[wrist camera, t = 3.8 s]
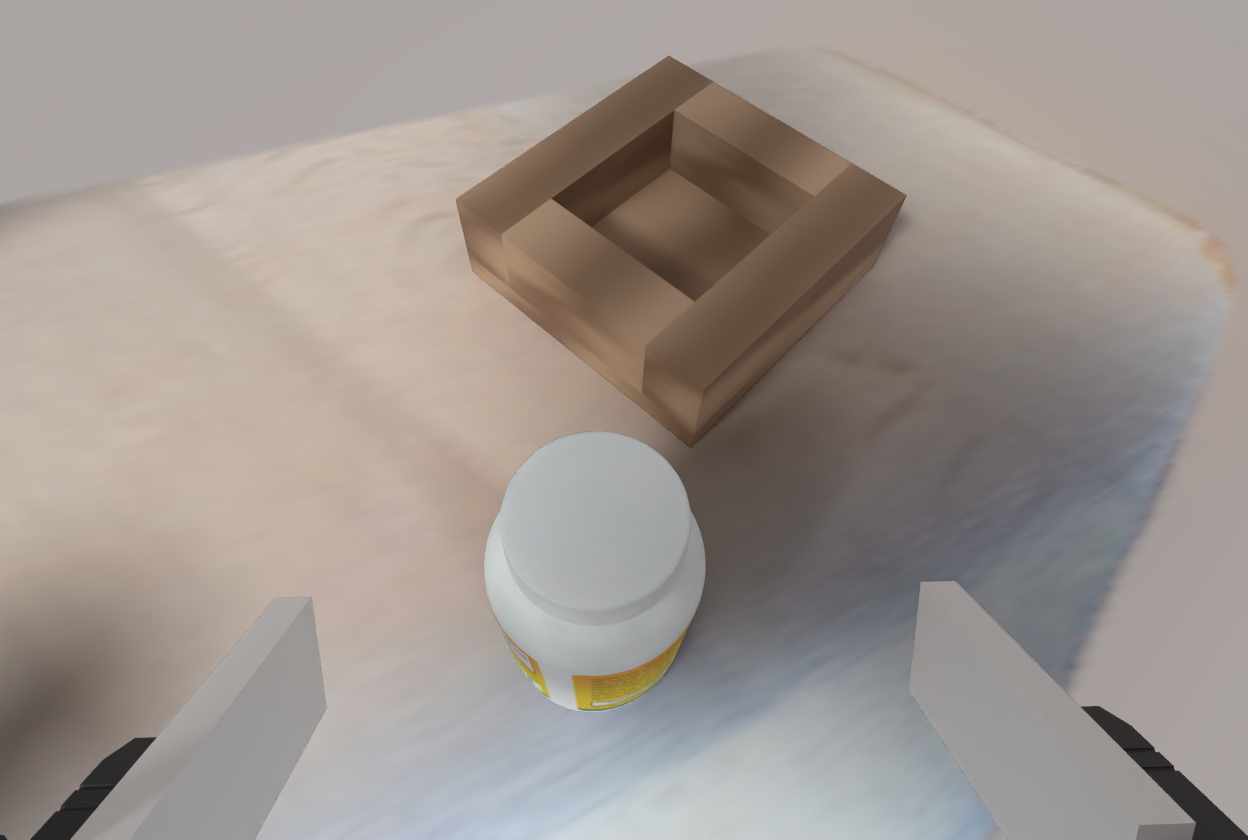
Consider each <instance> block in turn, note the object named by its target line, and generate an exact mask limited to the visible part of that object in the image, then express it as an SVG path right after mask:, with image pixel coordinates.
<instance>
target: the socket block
mask: <svg viewBox="0 0 1248 840" xmlns="http://www.w3.org/2000/svg"><path fill="white" fill-rule="evenodd" d="M906 196H907V195H905V194H903V193H902V192H900V191H898V190H897V189H895V188H893V187H891V186H890V185H888V184H886V183H885V182H883V181H881V180H880V179H878V178H876V177H874V176H873V175H871V174H869V173H868V172H866V171H864V170H863V169H861V168H859V167H857V166H856V165H854V164H852V163H851V162H849V161H847V160H846V159H844V158H842V157H840V156H839V155H837V154H835V153H834V152H832V151H830V150H829V149H827V148H825V147H823V146H822V145H820V144H818V143H817V142H815V141H813V140H812V139H810V138H808V137H806V136H805V135H803V134H801V133H800V132H798V131H796V130H794V129H793V128H791V127H789V126H788V125H786V124H784V123H783V122H781V121H779V120H777V119H776V118H774V117H772V116H771V115H769V114H767V113H766V112H764V111H762V110H760V109H759V108H757V107H755V106H754V105H752V104H750V103H749V102H747V101H745V100H743V99H742V98H740V97H738V96H737V95H735V94H733V93H732V92H730V91H728V90H726V89H725V88H723V87H721V86H720V85H718V84H716V83H715V82H713V81H711V80H709V79H708V78H706V77H704V76H703V75H701V74H699V73H698V72H696V71H694V70H692V69H691V68H689V67H687V66H686V65H684V64H682V63H680V62H679V61H677V60H675V59H674V58H672V57H670V56H668V57H666V58H665V59H663V60H662V61H660V62H659V63H657V64H656V65H654V66H653V67H651V68H650V69H648V70H647V71H645V72H644V73H642V74H641V75H639V76H638V77H636V78H635V79H633V80H632V81H630V82H629V83H627V84H626V85H624V86H623V87H622V88H620V89H619V90H617V91H616V92H614V93H613V94H611V95H610V96H608V97H607V98H605V99H604V100H602V101H601V102H599V103H598V104H596V105H595V106H593V107H592V108H590V109H589V110H587V111H586V112H584V113H583V114H581V115H580V116H578V117H577V118H575V119H574V120H572V121H571V122H570V123H568V124H567V125H565V126H564V127H562V128H561V129H559V130H558V131H556V132H555V133H553V134H552V135H550V136H549V137H547V138H546V139H544V140H543V141H541V142H540V143H538V144H537V145H535V146H534V147H532V148H531V149H529V150H528V151H526V152H525V153H523V154H522V155H520V156H519V157H518V158H516V159H515V160H513V161H512V162H510V163H509V164H507V165H506V166H504V167H503V168H501V169H500V170H498V171H497V172H495V173H494V174H492V175H491V176H489V177H488V178H486V179H485V180H483V181H482V182H480V183H479V184H477V185H476V186H474V187H473V188H471V189H470V190H468V191H467V192H466V193H464V194H463V195H461V196H460V197H458V198H457V199H456V204H457V208H458V212H459V216H460V220H461V225H462V229H463V233H464V237H465V242H466V246H467V250H468V254H469V259H470V263H471V267H472V271H473V272H474V273H475V274H476V275H478V276H479V277H480V278H481V279H482V280H484V281H485V282H486V283H487V284H489V285H490V286H491V287H492V288H494V289H495V290H496V291H497V292H499V293H500V294H501V295H502V296H504V297H505V298H506V299H507V300H509V301H510V302H511V303H512V304H513V305H515V306H516V307H517V308H518V309H520V310H521V311H522V312H523V313H525V314H526V315H527V316H528V317H530V318H531V319H532V320H533V321H535V322H536V323H537V324H538V325H540V326H541V327H542V328H543V329H544V330H546V331H547V332H548V333H549V334H551V335H552V336H553V337H554V338H556V339H557V340H558V341H559V342H561V343H562V344H563V345H564V346H566V347H567V348H568V349H569V350H571V351H572V352H573V353H574V354H575V355H577V356H578V357H579V358H580V359H582V360H583V361H584V362H585V363H587V364H588V365H589V366H590V367H592V368H593V369H594V370H595V371H597V372H598V373H599V374H600V375H601V376H603V377H604V378H605V379H606V380H608V381H609V382H610V383H611V384H613V385H614V386H615V387H616V388H618V389H619V390H620V391H621V392H623V393H624V394H625V395H626V396H628V397H629V398H630V399H631V400H632V401H634V402H635V403H636V404H637V405H639V406H640V407H641V408H642V409H644V410H645V411H646V412H647V413H649V414H650V415H651V416H652V417H654V418H655V419H656V420H657V421H659V422H660V423H661V424H662V425H663V426H665V427H666V428H667V429H668V430H670V431H671V432H672V433H673V434H675V435H676V436H677V437H678V438H680V439H681V440H682V441H683V442H685V443H686V444H687V445H688V446H689V447H692V446H693V445H694V444H695V443H696V442H697V441H698V440H699V439H700V438H701V437H702V436H703V435H704V434H705V433H706V432H707V431H708V430H709V429H710V428H711V427H712V426H713V425H714V424H715V423H716V422H717V421H718V420H719V419H720V418H721V417H722V416H723V415H724V414H725V413H726V412H727V411H728V410H729V409H730V408H731V407H732V406H733V405H734V404H735V403H736V402H737V401H738V400H739V399H740V398H741V397H742V396H743V395H744V394H745V393H746V392H747V391H748V390H749V389H750V388H751V387H752V386H753V385H754V384H755V383H756V382H757V381H758V380H760V379H761V378H762V377H763V376H764V375H765V374H766V373H767V372H768V371H769V370H770V369H771V368H772V367H773V366H774V365H775V364H776V363H777V362H778V361H779V360H780V359H781V358H782V357H783V356H784V355H785V354H786V353H787V352H788V351H789V350H790V349H791V348H792V347H793V346H794V345H795V344H796V343H797V342H798V341H799V340H800V339H801V338H802V337H803V336H804V335H805V334H806V333H807V332H808V331H809V330H810V329H811V328H812V327H813V326H814V325H815V324H816V323H817V322H818V321H819V320H820V319H821V318H822V317H823V316H824V315H825V314H826V313H827V312H828V311H829V310H830V309H831V308H832V307H833V306H834V305H835V304H836V303H837V302H838V301H839V300H840V299H841V298H842V297H843V296H844V295H845V294H846V293H847V292H848V291H849V290H850V289H851V288H852V287H853V286H854V285H855V284H856V283H857V282H858V281H859V280H860V279H861V278H862V277H863V276H864V275H865V274H866V273H867V272H868V271H869V270H870V269H871V268H872V267H873V265H874V263H875V261H876V259H877V257H878V255H879V253H880V251H881V249H882V246H883V244H884V242H885V240H886V238H887V236H888V234H889V232H890V230H891V228H892V225H893V223H894V221H895V219H896V217H897V215H898V213H899V211H900V209H901V206H902V204H903V202H904V200H905V198H906Z"/></svg>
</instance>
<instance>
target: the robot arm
mask: <svg viewBox="0 0 1248 840" xmlns="http://www.w3.org/2000/svg"><path fill="white" fill-rule="evenodd" d="M909 692H910V694H911V695H912V697H913V698H914V700H915V701H916V703H917V704H918V706H919V707H920V709H921V710H922V712H923V713H924V715H925V716H926V718H927V719H928V721H929V722H930V724H931V725H932V727H933V728H934V730H935V731H936V733H937V734H938V736H939V737H940V739H941V740H942V742H943V744H944V745H945V747H946V748H947V750H948V751H949V753H950V754H951V756H952V757H953V759H954V760H955V762H956V763H957V765H958V766H959V768H960V769H961V771H962V772H963V774H964V775H965V777H966V778H967V780H968V781H969V783H970V784H971V786H972V787H973V789H974V790H975V792H976V793H977V795H978V796H979V798H980V799H981V801H982V802H983V804H984V805H985V807H986V808H987V810H988V811H989V813H990V814H991V816H992V817H993V819H994V820H995V822H996V823H997V825H998V826H999V828H1000V829H1001V831H1002V832H1003V834H1004V835H1005V837H1006V838H1007V840H1248V836H1247V835H1246V834H1245V833H1244V832H1243V831H1242V830H1241V829H1240V828H1239V827H1238V826H1236V825H1235V824H1234V823H1233V822H1232V821H1231V820H1230V819H1229V818H1228V817H1227V816H1226V815H1225V814H1224V813H1223V812H1222V811H1221V810H1220V809H1218V807H1216V806H1215V805H1214V804H1213V803H1212V802H1211V801H1210V800H1209V799H1208V798H1207V797H1206V796H1205V795H1204V794H1203V793H1202V792H1201V791H1200V790H1198V789H1197V788H1196V787H1195V786H1194V785H1193V784H1192V783H1191V782H1190V781H1189V780H1188V779H1187V778H1186V777H1185V776H1184V775H1183V774H1182V773H1180V772H1179V771H1175V770H1174V766H1173V765H1172V764H1171V763H1170V762H1169V761H1168V760H1167V759H1166V758H1164V756H1163V755H1161V754H1160V753H1159V752H1155V750H1154V747H1153V746H1152V745H1151V744H1150V743H1149V742H1148V741H1147V740H1146V739H1144V738H1143V737H1142V736H1141V735H1140V734H1139V733H1138V732H1137V731H1136V730H1135V729H1134V728H1133V727H1132V726H1131V725H1129V724H1128V723H1126V722H1124V721H1123V720H1121V719H1119V718H1117V717H1116V716H1114V715H1113V714H1111V713H1109V712H1108V711H1106V710H1104V709H1102V708H1101V707H1099V706H1092V707H1090V706H1089V707H1080V706H1079V705H1078V704H1077V703H1076V702H1075V701H1074V700H1073V699H1072V698H1071V697H1070V696H1069V695H1068V694H1067V693H1066V692H1065V691H1064V690H1063V689H1062V688H1061V687H1060V686H1059V685H1058V684H1057V683H1056V682H1055V681H1054V680H1053V679H1052V678H1051V677H1050V676H1049V675H1048V674H1047V673H1046V672H1045V671H1044V670H1043V669H1042V668H1041V667H1040V666H1039V665H1038V664H1037V663H1036V662H1035V661H1034V660H1033V659H1032V658H1031V657H1030V656H1029V655H1028V654H1027V652H1026V651H1025V650H1024V649H1023V648H1022V647H1021V646H1020V645H1019V644H1018V643H1017V642H1016V641H1015V640H1014V639H1013V638H1012V637H1011V636H1010V635H1009V634H1008V633H1007V632H1006V631H1005V630H1004V629H1003V628H1002V627H1001V626H1000V625H999V624H998V623H997V622H996V621H995V620H994V619H993V618H992V617H991V616H990V615H989V614H988V613H987V612H986V611H985V610H984V609H983V608H982V607H981V606H980V605H979V604H978V603H977V602H976V601H975V600H974V599H973V598H972V597H971V596H970V595H969V594H968V593H967V592H966V591H965V590H964V589H963V588H962V587H961V586H960V585H959V584H958V583H957V582H956V581H931V582H921V585H920V594H919V603H918V612H917V621H916V629H915V638H914V647H913V656H912V665H911V674H910V683H909ZM326 709H327V707H326V699H325V692H324V685H323V677H322V670H321V662H320V655H319V647H318V640H317V632H316V625H315V618H314V610H313V603H312V597H283V598H274V600H273V601H272V602H271V603H270V604H269V605H268V607H267V608H266V609H265V610H264V611H263V613H262V614H261V615H260V616H259V617H258V618H257V620H256V621H255V622H254V623H253V624H252V626H251V627H250V628H249V629H248V630H247V631H246V633H245V634H244V635H243V636H242V637H241V639H240V640H239V641H238V642H237V643H236V644H235V646H234V647H233V648H232V649H231V650H230V652H229V653H228V654H227V655H226V656H225V657H224V659H223V660H222V661H221V662H220V663H219V665H218V666H217V667H216V668H215V669H214V670H213V672H212V673H211V674H210V675H209V676H208V678H207V679H206V680H205V681H204V682H203V683H202V685H201V686H200V687H199V688H198V689H197V691H196V692H195V693H194V694H193V695H192V696H191V698H190V699H189V700H188V701H187V702H186V704H185V705H184V706H183V707H182V708H181V709H180V711H179V712H178V713H177V714H176V715H175V717H174V718H173V719H172V720H171V721H170V722H169V724H168V725H167V726H166V727H165V728H164V730H163V731H162V732H161V733H160V734H159V735H158V737H153V738H134V739H133V740H131V741H130V742H128V743H127V744H126V745H124V746H123V747H121V748H120V749H118V750H117V751H115V752H114V753H112V754H111V755H110V756H108V757H107V758H105V759H104V760H102V762H101V763H100V764H99V765H98V766H97V767H96V768H95V769H94V770H93V771H92V773H91V774H90V775H89V776H88V777H87V778H86V779H85V780H84V781H83V782H82V784H81V785H80V788H79V790H75V791H74V792H73V793H72V794H71V796H70V797H69V798H68V799H67V800H66V801H65V802H64V803H63V804H62V805H61V809H60V811H57V812H55V813H54V814H53V815H52V816H51V818H50V819H49V820H48V821H47V822H46V823H45V824H44V825H43V826H42V827H41V829H40V830H39V831H38V832H37V833H36V834H35V835H34V836H33V837H32V838H31V840H255V838H256V836H257V834H258V832H259V831H260V829H261V827H262V825H263V823H264V822H265V820H266V818H267V816H268V814H269V812H270V811H271V809H272V807H273V805H274V803H275V801H276V800H277V798H278V796H279V794H280V792H281V791H282V789H283V787H284V785H285V783H286V781H287V780H288V778H289V776H290V774H291V772H292V771H293V769H294V767H295V765H296V763H297V761H298V760H299V758H300V756H301V754H302V752H303V751H304V749H305V747H306V745H307V743H308V741H309V740H310V738H311V736H312V734H313V732H314V731H315V729H316V727H317V725H318V723H319V721H320V720H321V718H322V716H323V714H324V712H325V710H326ZM0 840H7V839H6V837H5V836H4V835H0Z"/></svg>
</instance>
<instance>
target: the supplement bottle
mask: <svg viewBox="0 0 1248 840" xmlns="http://www.w3.org/2000/svg"><path fill="white" fill-rule="evenodd" d="M705 570H706V561H705V549H704V544H703V540H702V536H701V533H700V529H699V527H698V524H697V522H696V520H695V518H694V516H693V514H692V512H691V510H690V505H689V501H688V497H687V493H686V490H685V488H684V486H683V483H682V481H681V479H680V477H679V476H678V474H677V473H676V471H675V470H674V469H673V467H672V466H671V465H670V464H669V462H668V461H667V460H666V459H665V458H664V457H663V456H662V455H660V454H659V453H658V452H657V451H655V450H654V449H652V448H651V447H650V446H648V445H646V444H645V443H643V442H641V441H639V440H636V439H634V438H632V437H629V436H626V435H623V434H618V433H613V432H605V431H587V432H581V433H576V434H572V435H567V436H564V437H561V438H558V439H556V440H554V441H552V442H550V443H548V444H546V445H545V446H543V447H541V448H540V449H538V450H537V451H536V452H534V453H533V454H532V455H531V456H530V457H529V458H528V459H527V460H526V461H525V462H524V463H523V464H522V465H521V466H520V468H519V469H518V470H517V472H516V473H515V474H514V476H513V477H512V479H511V481H510V483H509V485H508V487H507V490H506V492H505V495H504V498H503V502H502V506H501V510H500V512H499V514H498V515H497V517H496V519H495V521H494V524H493V526H492V529H491V531H490V534H489V537H488V541H487V545H486V550H485V559H484V576H485V585H486V591H487V595H488V599H489V602H490V605H491V607H492V610H493V612H494V615H495V617H496V619H497V621H498V623H499V625H500V627H501V630H502V632H503V634H504V636H505V638H506V640H507V643H508V645H509V647H510V649H511V651H512V653H513V656H514V658H515V660H516V661H517V663H518V665H519V667H520V668H521V670H522V672H523V673H524V675H525V676H526V678H527V679H528V680H529V682H530V683H531V684H532V685H533V686H534V687H535V688H536V689H537V690H538V691H539V692H540V693H541V694H542V695H544V696H545V697H546V698H548V699H549V700H551V701H552V702H554V703H556V704H558V705H561V706H563V707H566V708H569V709H572V710H577V711H583V712H604V711H610V710H614V709H617V708H620V707H623V706H626V705H628V704H631V703H633V702H634V701H636V700H638V699H640V698H641V697H643V696H644V695H646V694H647V693H648V692H649V691H651V690H652V689H653V688H654V687H655V686H656V685H657V684H658V683H659V682H660V681H661V679H662V678H663V677H664V676H665V674H666V673H667V671H668V669H669V668H670V666H671V664H672V662H673V660H674V659H675V657H676V654H677V651H678V649H679V647H680V644H681V642H682V640H683V638H684V636H685V634H686V632H687V629H688V627H689V625H690V623H691V621H692V619H693V617H694V614H695V612H696V610H697V607H698V605H699V602H700V599H701V595H702V591H703V587H704V581H705Z"/></svg>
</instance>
